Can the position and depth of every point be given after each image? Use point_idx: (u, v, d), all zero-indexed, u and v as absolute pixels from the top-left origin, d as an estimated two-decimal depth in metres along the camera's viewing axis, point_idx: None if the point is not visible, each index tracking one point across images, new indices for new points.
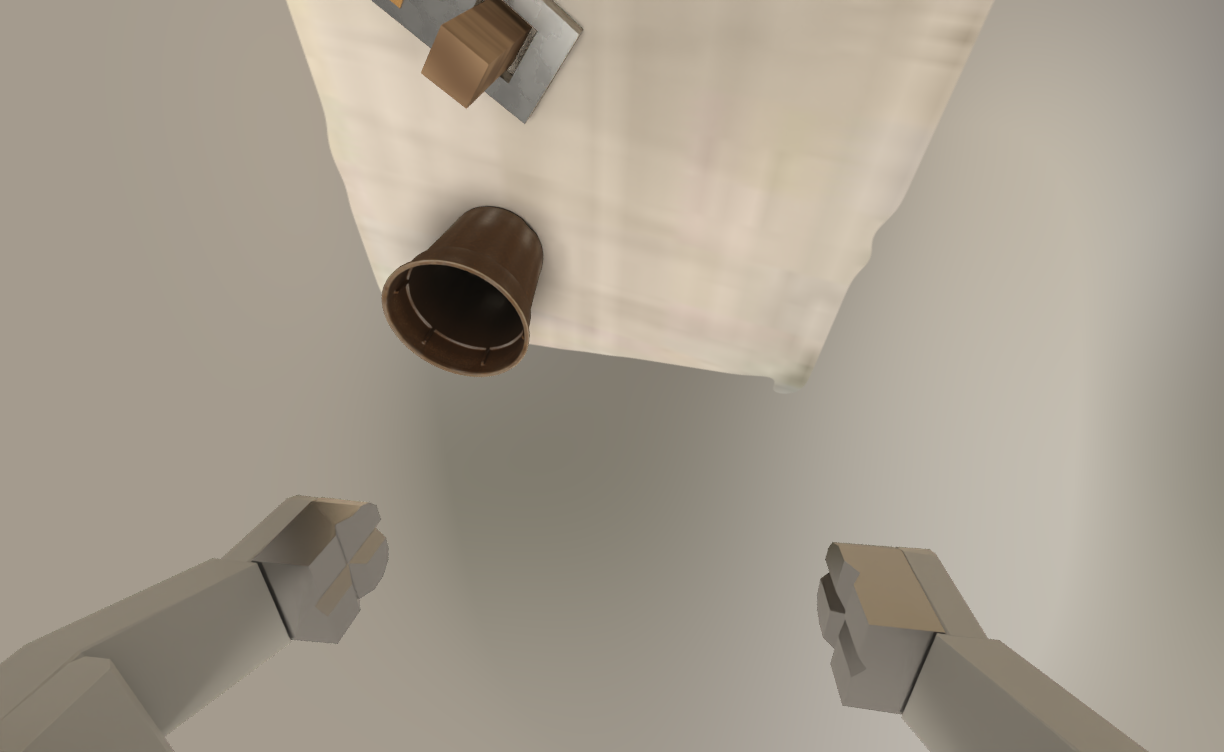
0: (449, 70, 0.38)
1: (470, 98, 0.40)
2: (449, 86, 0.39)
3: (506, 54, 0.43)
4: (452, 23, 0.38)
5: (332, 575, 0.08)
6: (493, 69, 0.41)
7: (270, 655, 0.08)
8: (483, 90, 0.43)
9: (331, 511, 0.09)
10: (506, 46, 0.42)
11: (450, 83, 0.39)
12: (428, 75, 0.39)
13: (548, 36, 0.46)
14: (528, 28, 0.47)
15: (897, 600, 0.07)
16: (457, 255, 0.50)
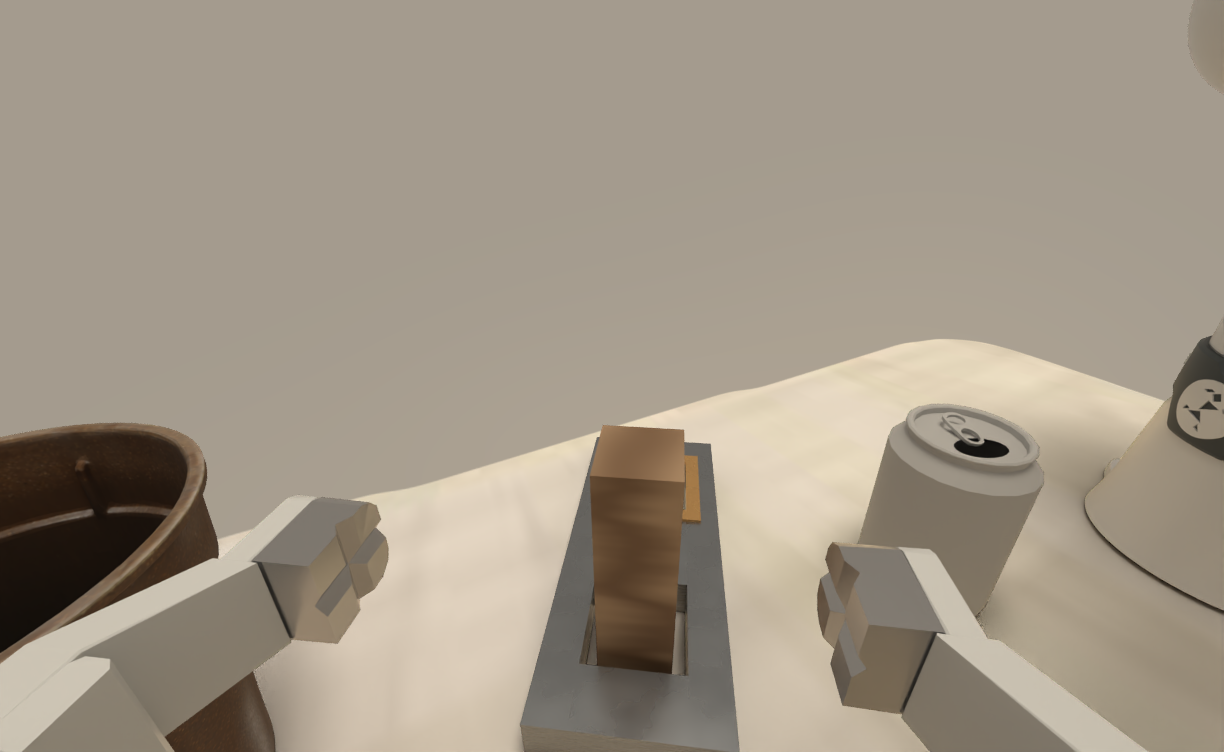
0: (633, 447, 0.23)
1: (610, 476, 0.21)
2: (609, 452, 0.23)
3: (657, 590, 0.24)
4: None
5: (332, 575, 0.08)
6: (647, 542, 0.22)
7: (270, 655, 0.08)
8: (599, 546, 0.23)
9: (331, 511, 0.09)
10: (678, 573, 0.23)
11: (614, 451, 0.23)
12: (606, 431, 0.24)
13: (694, 697, 0.24)
14: None
15: (898, 600, 0.07)
16: (199, 545, 0.18)
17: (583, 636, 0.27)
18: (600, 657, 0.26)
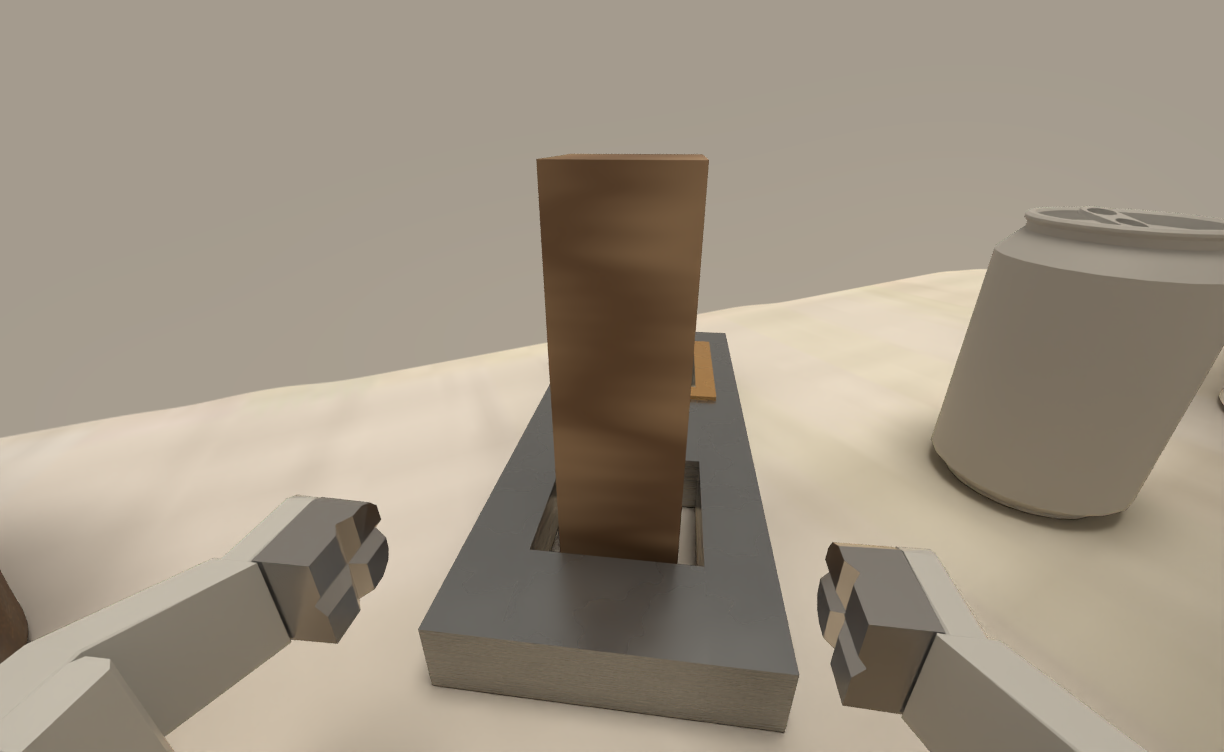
0: (617, 155, 0.13)
1: (574, 160, 0.12)
2: (576, 156, 0.13)
3: (656, 411, 0.14)
4: None
5: (332, 575, 0.08)
6: (639, 308, 0.13)
7: (270, 655, 0.08)
8: (558, 323, 0.13)
9: (331, 511, 0.09)
10: (691, 376, 0.14)
11: (585, 156, 0.13)
12: (574, 154, 0.15)
13: (714, 594, 0.15)
14: None
15: (898, 599, 0.07)
16: None
17: (540, 517, 0.17)
18: (565, 546, 0.17)
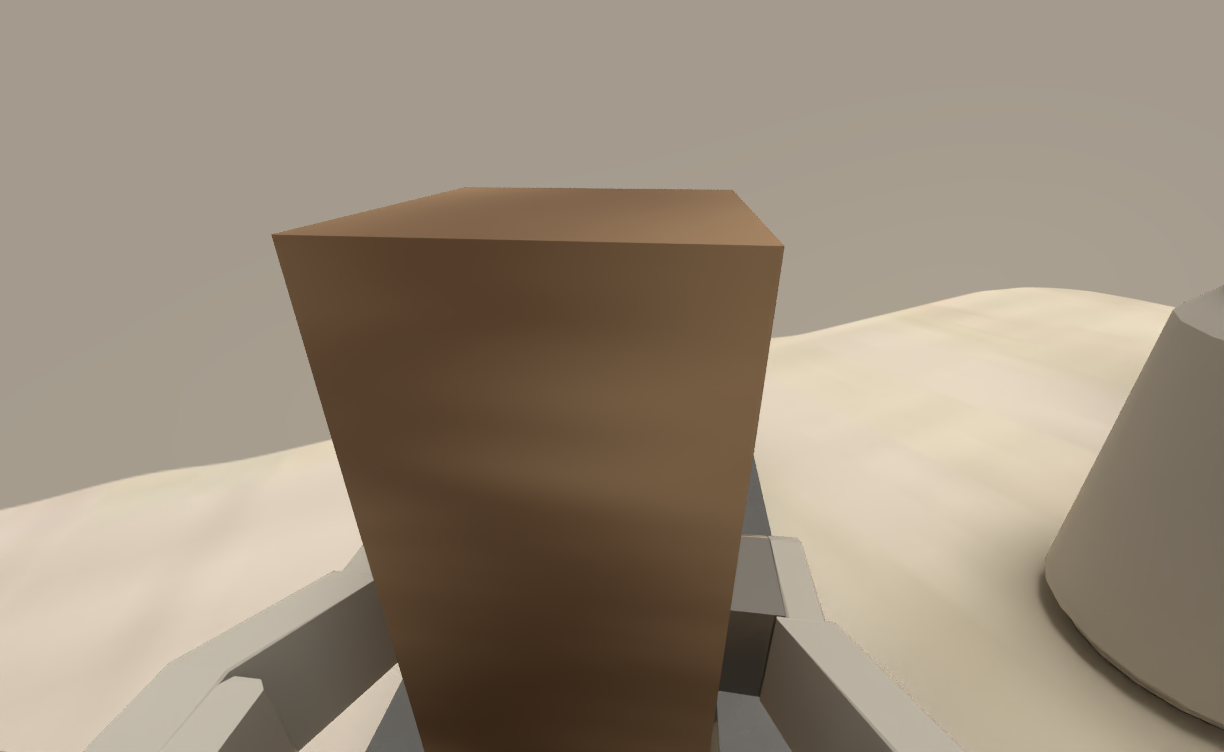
0: (542, 203, 0.06)
1: (381, 238, 0.04)
2: (438, 206, 0.06)
3: (637, 751, 0.07)
4: None
5: None
6: (590, 582, 0.05)
7: (386, 670, 0.08)
8: (403, 595, 0.06)
9: None
10: (715, 696, 0.06)
11: (462, 206, 0.06)
12: (465, 191, 0.07)
13: None
14: None
15: (750, 586, 0.07)
16: None
17: None
18: None
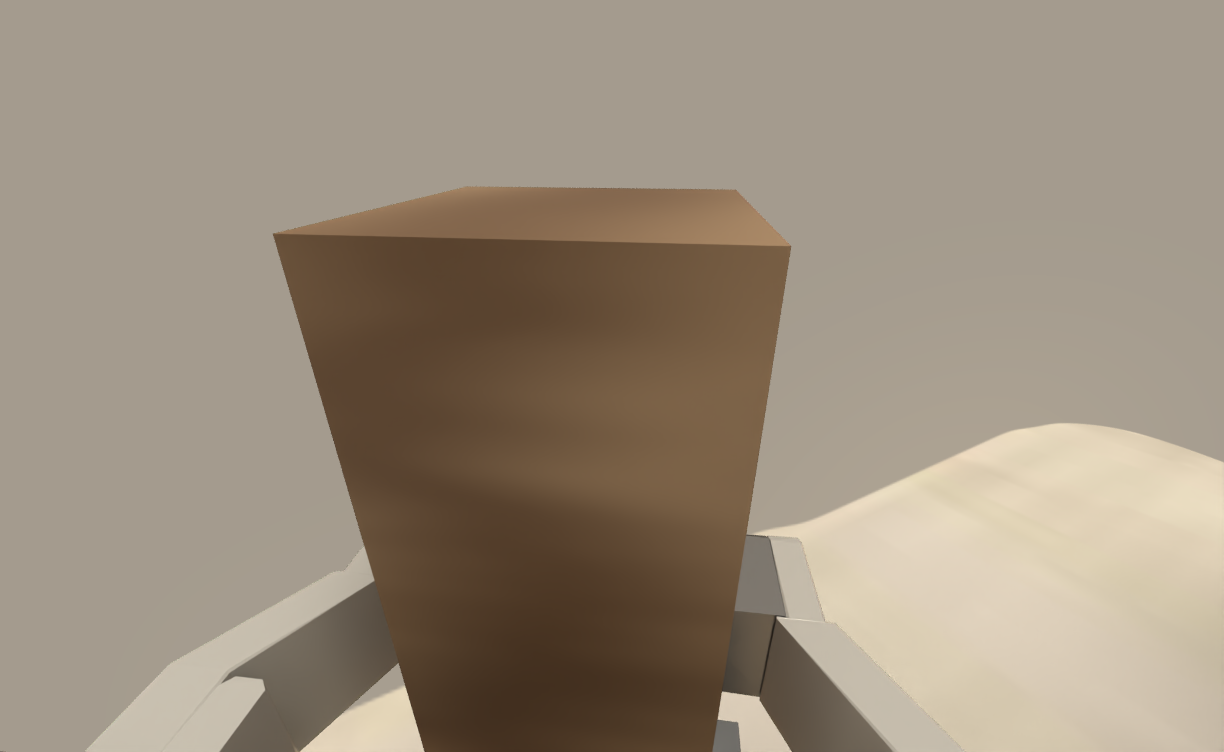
0: (546, 202, 0.06)
1: (384, 238, 0.04)
2: (441, 206, 0.05)
3: None
4: None
5: None
6: (593, 584, 0.05)
7: (387, 670, 0.08)
8: (405, 596, 0.06)
9: None
10: (717, 698, 0.06)
11: (464, 205, 0.05)
12: (467, 190, 0.07)
13: None
14: None
15: (750, 586, 0.07)
16: None
17: None
18: None
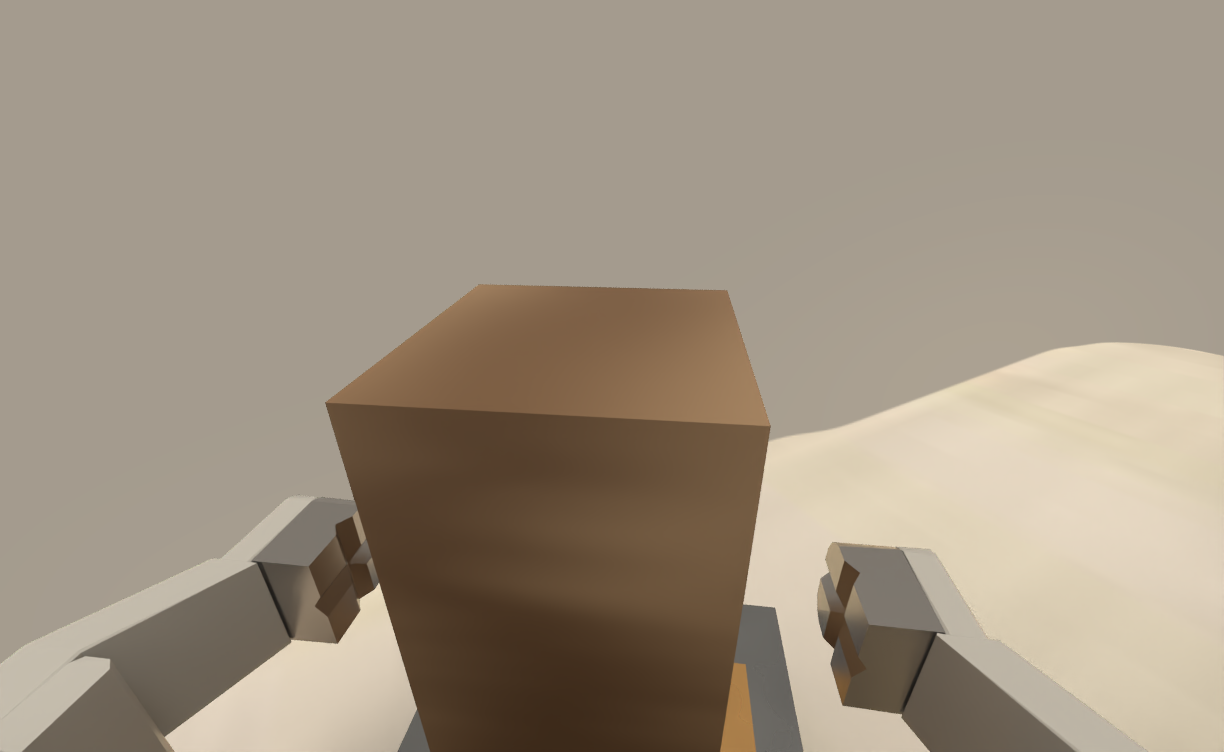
0: (554, 324, 0.06)
1: (421, 406, 0.05)
2: (462, 334, 0.06)
3: None
4: None
5: (332, 575, 0.08)
6: (602, 676, 0.06)
7: (270, 655, 0.08)
8: (432, 682, 0.06)
9: (331, 511, 0.09)
10: None
11: (483, 334, 0.06)
12: (480, 295, 0.08)
13: None
14: None
15: (898, 600, 0.07)
16: None
17: None
18: None
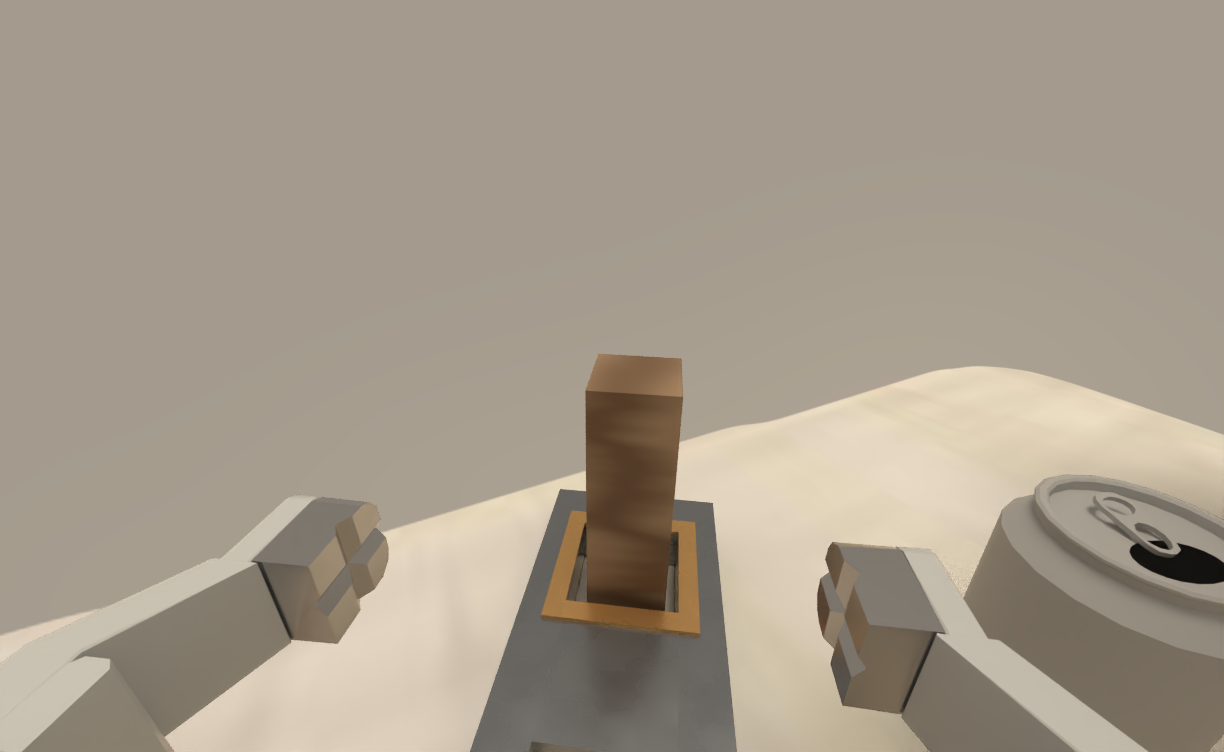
0: (629, 370, 0.22)
1: (607, 391, 0.20)
2: (605, 373, 0.22)
3: (652, 521, 0.23)
4: None
5: (332, 575, 0.08)
6: (643, 466, 0.22)
7: (270, 655, 0.08)
8: (593, 472, 0.22)
9: (331, 511, 0.09)
10: (673, 502, 0.23)
11: (610, 373, 0.22)
12: (601, 358, 0.24)
13: None
14: None
15: (898, 600, 0.07)
16: None
17: None
18: (590, 600, 0.26)
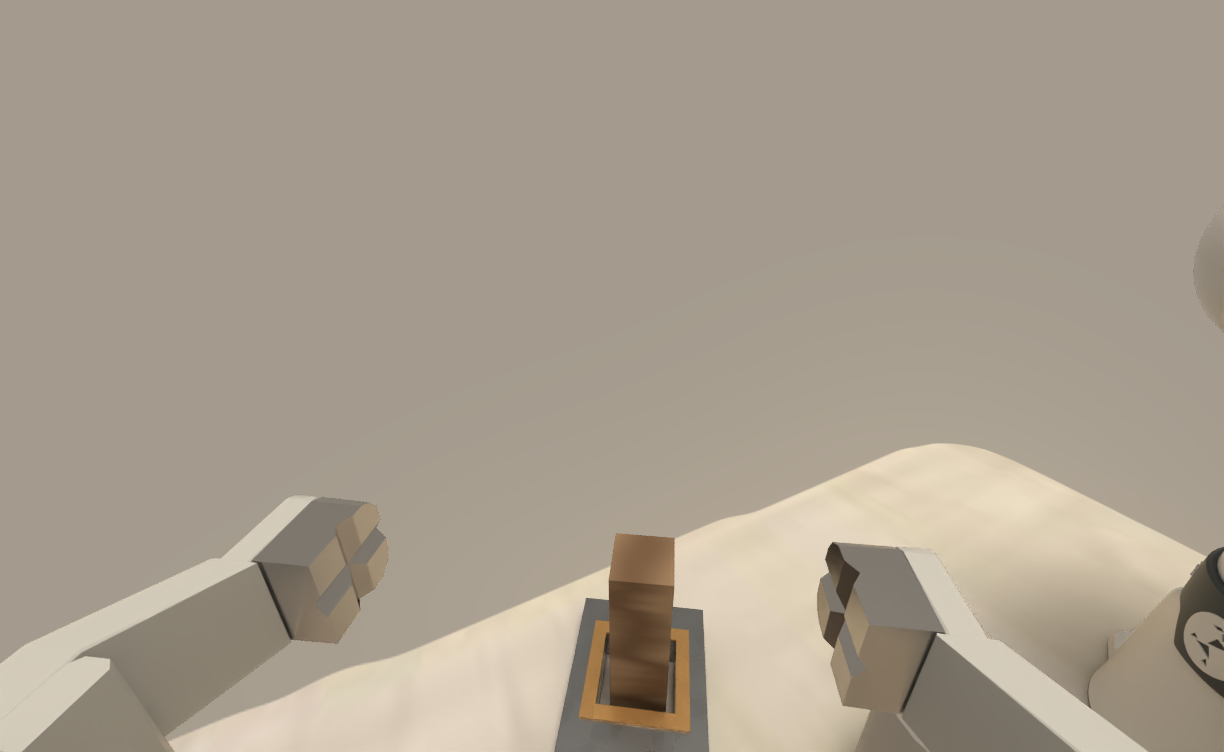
0: (638, 554, 0.32)
1: (623, 580, 0.30)
2: (621, 559, 0.32)
3: (655, 655, 0.33)
4: None
5: (332, 575, 0.08)
6: (648, 623, 0.32)
7: (270, 655, 0.08)
8: (614, 625, 0.32)
9: (331, 511, 0.09)
10: None
11: (625, 558, 0.32)
12: (618, 539, 0.34)
13: None
14: None
15: (898, 600, 0.07)
16: None
17: None
18: (612, 700, 0.36)
